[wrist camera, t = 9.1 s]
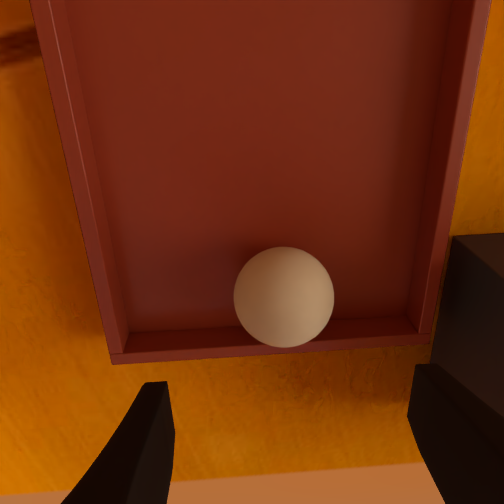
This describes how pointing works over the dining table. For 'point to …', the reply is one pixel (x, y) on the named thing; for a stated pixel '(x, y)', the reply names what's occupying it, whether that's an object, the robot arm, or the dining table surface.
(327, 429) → the dining table surface
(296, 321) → the ball
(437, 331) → the box
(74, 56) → the tray
